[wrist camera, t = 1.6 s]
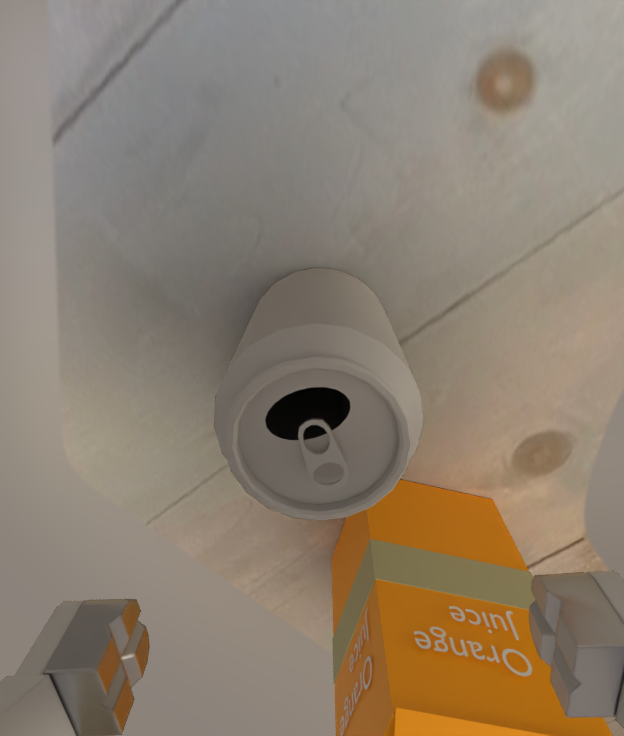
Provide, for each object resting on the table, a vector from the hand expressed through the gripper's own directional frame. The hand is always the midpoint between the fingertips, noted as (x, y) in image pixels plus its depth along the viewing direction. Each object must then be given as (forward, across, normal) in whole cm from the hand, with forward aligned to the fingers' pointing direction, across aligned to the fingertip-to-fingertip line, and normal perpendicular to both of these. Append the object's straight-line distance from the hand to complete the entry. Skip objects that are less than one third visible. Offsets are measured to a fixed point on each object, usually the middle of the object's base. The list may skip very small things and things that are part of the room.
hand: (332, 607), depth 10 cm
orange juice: (+18, -4, +14) cm, 24 cm away
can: (+18, 0, 0) cm, 18 cm away
